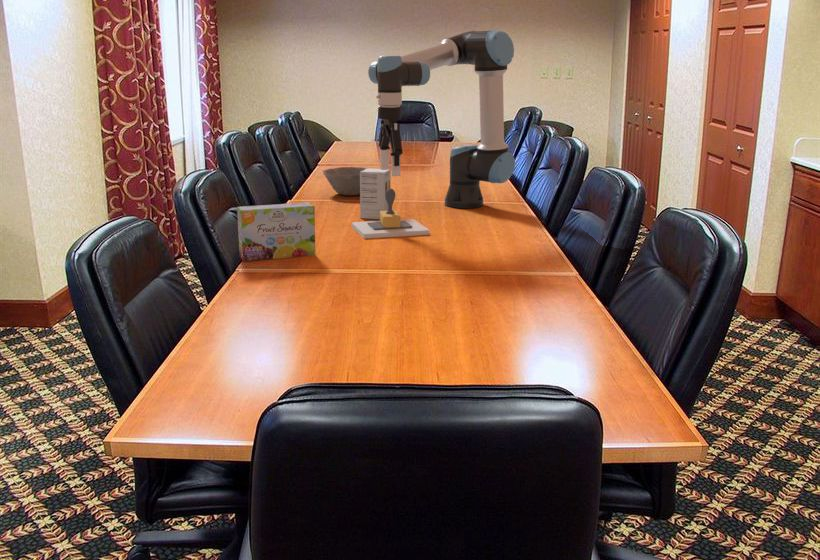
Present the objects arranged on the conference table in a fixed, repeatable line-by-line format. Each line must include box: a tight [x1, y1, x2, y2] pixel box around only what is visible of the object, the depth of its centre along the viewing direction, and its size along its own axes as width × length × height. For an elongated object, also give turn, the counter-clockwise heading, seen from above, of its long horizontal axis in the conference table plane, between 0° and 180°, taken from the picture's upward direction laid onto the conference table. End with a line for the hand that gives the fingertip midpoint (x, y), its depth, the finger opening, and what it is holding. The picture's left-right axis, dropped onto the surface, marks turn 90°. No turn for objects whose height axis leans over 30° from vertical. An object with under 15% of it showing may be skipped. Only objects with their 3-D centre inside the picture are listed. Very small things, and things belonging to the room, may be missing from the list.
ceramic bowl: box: [322, 166, 370, 196], centre depth 313 cm, size 22×23×10 cm
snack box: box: [236, 202, 316, 262], centre depth 215 cm, size 21×6×15 cm, turn 114°
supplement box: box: [359, 168, 392, 220], centre depth 269 cm, size 10×9×17 cm
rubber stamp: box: [379, 188, 401, 228], centre depth 248 cm, size 10×6×12 cm, turn 8°
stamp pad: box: [350, 218, 430, 240], centre depth 250 cm, size 22×18×2 cm
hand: (390, 172), depth 245 cm, fingers open, 13 cm apart
